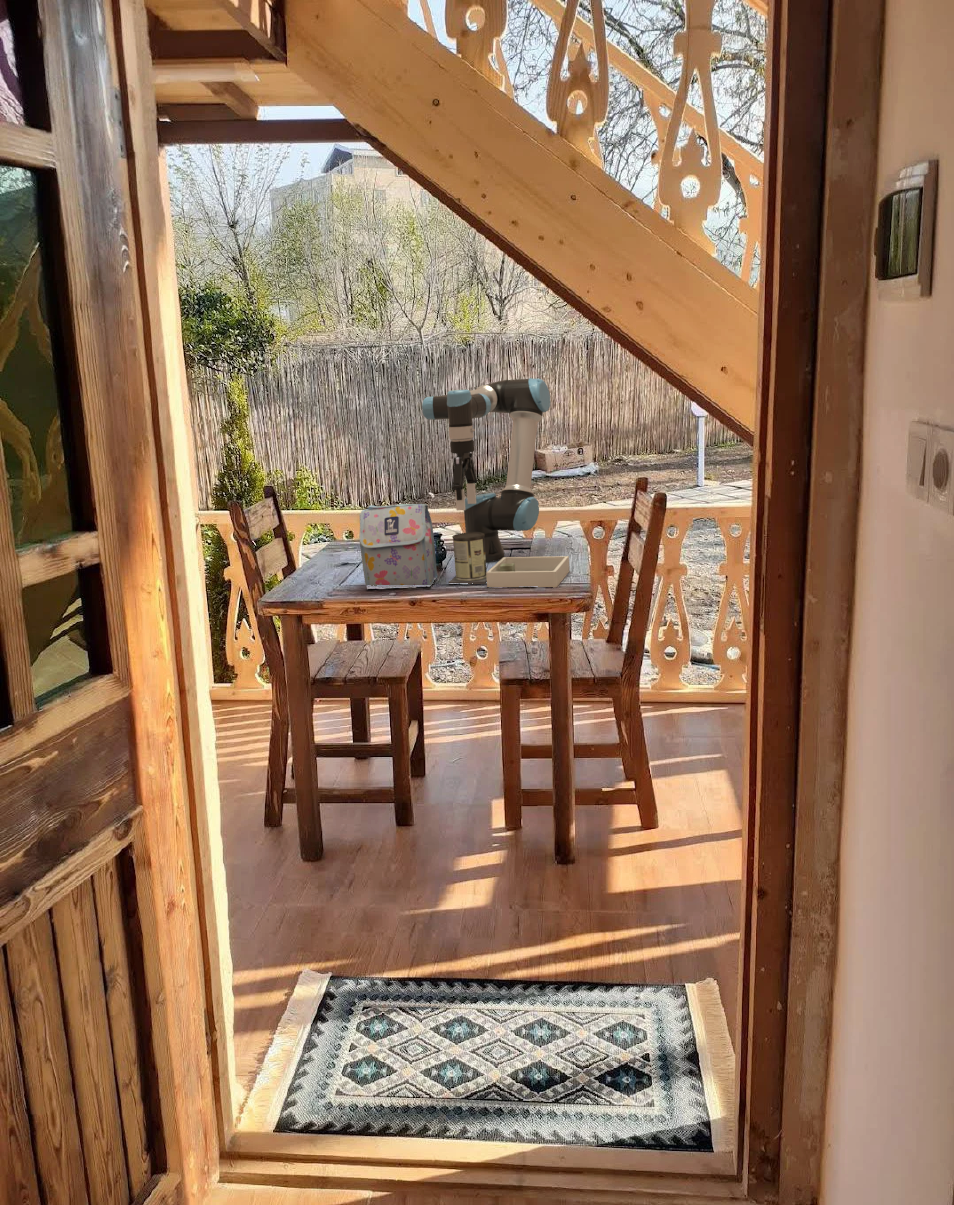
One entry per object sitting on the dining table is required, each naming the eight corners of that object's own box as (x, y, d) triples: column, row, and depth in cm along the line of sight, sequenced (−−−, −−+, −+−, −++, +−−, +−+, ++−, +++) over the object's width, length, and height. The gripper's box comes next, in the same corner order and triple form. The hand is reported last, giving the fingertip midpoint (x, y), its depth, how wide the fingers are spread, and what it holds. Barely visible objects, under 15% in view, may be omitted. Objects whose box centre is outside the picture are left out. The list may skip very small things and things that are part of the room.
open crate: (487, 588, 323) (486, 572, 322) (504, 571, 346) (503, 557, 345) (556, 587, 318) (555, 571, 316) (569, 571, 340) (568, 556, 339)
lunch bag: (360, 593, 328) (352, 510, 322) (372, 581, 345) (365, 502, 338) (429, 591, 325) (423, 507, 319) (439, 579, 341) (432, 499, 335)
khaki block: (500, 581, 332) (499, 566, 331) (503, 578, 336) (502, 563, 335) (513, 581, 331) (512, 565, 330) (515, 578, 335) (514, 563, 334)
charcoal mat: (448, 584, 332) (448, 581, 331) (458, 576, 343) (458, 573, 343) (484, 584, 328) (484, 581, 328) (493, 576, 340) (493, 573, 340)
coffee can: (465, 573, 342) (463, 531, 339) (492, 575, 337) (490, 532, 334) (449, 580, 334) (446, 537, 330) (476, 581, 328) (473, 538, 325)
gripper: (463, 443, 313) (467, 512, 318) (483, 435, 336) (487, 500, 341) (439, 444, 315) (444, 513, 320) (460, 436, 338) (465, 501, 343)
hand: (466, 506), depth 330 cm, fingers open, 13 cm apart
